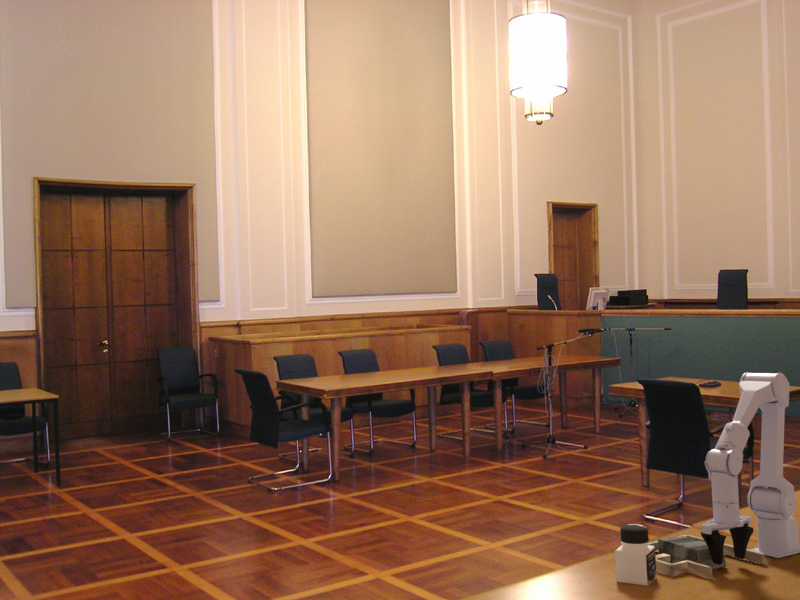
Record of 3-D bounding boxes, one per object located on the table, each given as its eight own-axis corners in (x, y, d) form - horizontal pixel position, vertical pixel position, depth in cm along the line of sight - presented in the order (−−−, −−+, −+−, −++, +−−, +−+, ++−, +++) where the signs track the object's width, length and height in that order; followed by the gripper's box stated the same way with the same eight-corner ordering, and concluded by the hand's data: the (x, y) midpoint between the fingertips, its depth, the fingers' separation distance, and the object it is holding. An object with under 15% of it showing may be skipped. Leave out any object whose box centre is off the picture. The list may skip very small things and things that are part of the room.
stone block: (688, 553, 204) (687, 532, 204) (730, 568, 190) (729, 545, 191) (658, 558, 201) (657, 536, 201) (698, 573, 187) (697, 550, 188)
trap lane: (687, 544, 212) (687, 534, 212) (765, 564, 192) (764, 553, 192) (618, 559, 200) (617, 549, 200) (693, 583, 180) (692, 571, 180)
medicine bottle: (648, 586, 179) (645, 531, 180) (616, 582, 183) (613, 528, 183) (656, 577, 185) (654, 523, 186) (625, 573, 189) (622, 521, 189)
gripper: (718, 508, 183) (721, 570, 182) (761, 499, 190) (764, 559, 189) (693, 503, 189) (696, 563, 188) (735, 495, 196) (738, 552, 195)
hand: (728, 560), depth 189 cm, fingers open, 7 cm apart
